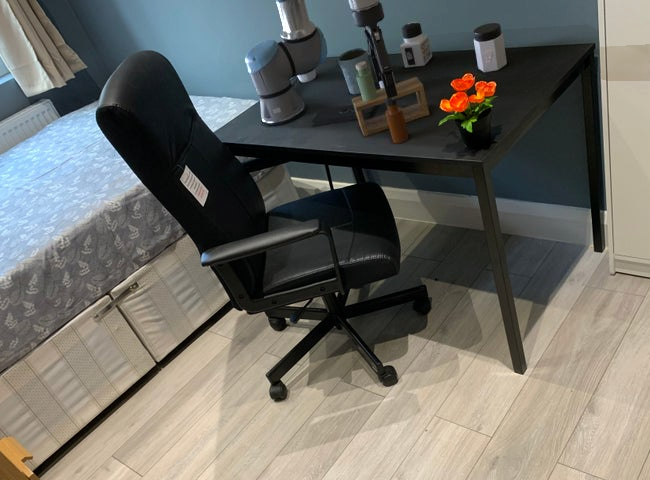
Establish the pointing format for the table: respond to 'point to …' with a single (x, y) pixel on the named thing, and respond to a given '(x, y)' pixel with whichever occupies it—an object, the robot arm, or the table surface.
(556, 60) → the table surface
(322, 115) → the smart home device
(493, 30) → the jar
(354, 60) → the blue-grey plant pot
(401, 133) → the amber bottle
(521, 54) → the table surface
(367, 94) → the sage bottle
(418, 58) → the container
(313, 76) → the coffee cup
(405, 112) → the wooden frame
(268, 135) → the table surface
